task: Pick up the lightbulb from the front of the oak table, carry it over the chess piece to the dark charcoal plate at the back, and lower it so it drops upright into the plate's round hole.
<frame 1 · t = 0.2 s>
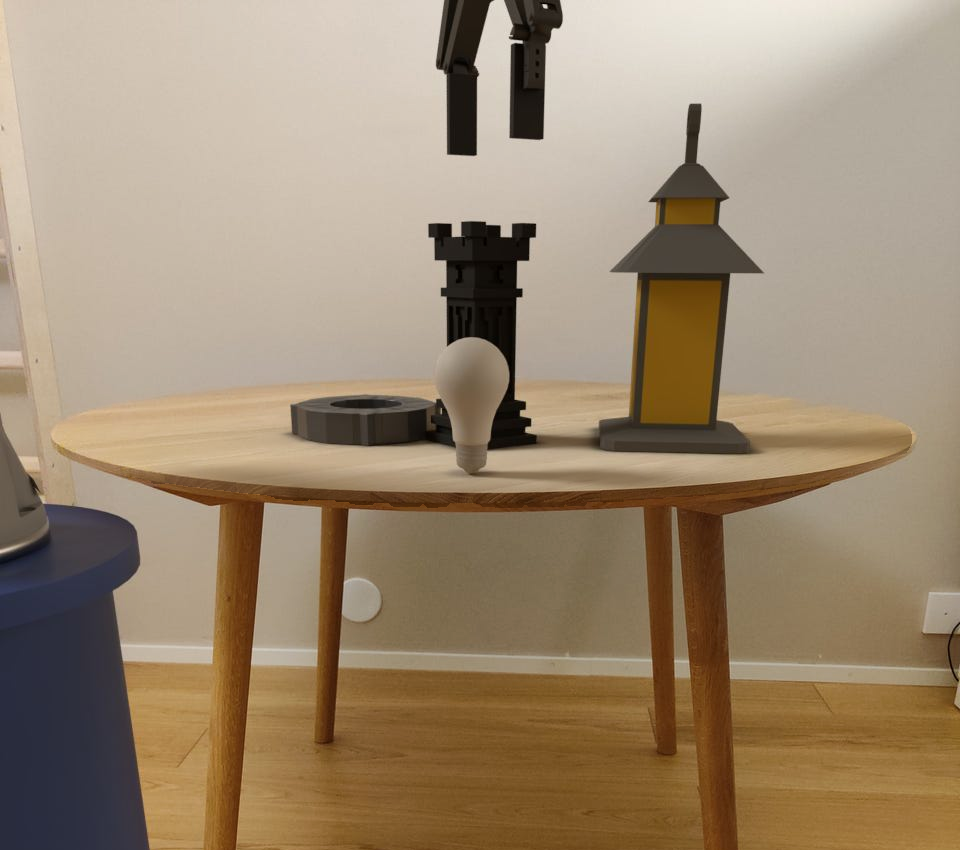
hand: (491, 148, 83), 26 cm above the table, tool pointing down, fingers open, 13 cm apart
chess piece: (480, 443, 95), on the table
hole plate: (367, 432, 100), on the table
lightbulb: (471, 475, 81), on the table
lantern: (668, 441, 97), on the table
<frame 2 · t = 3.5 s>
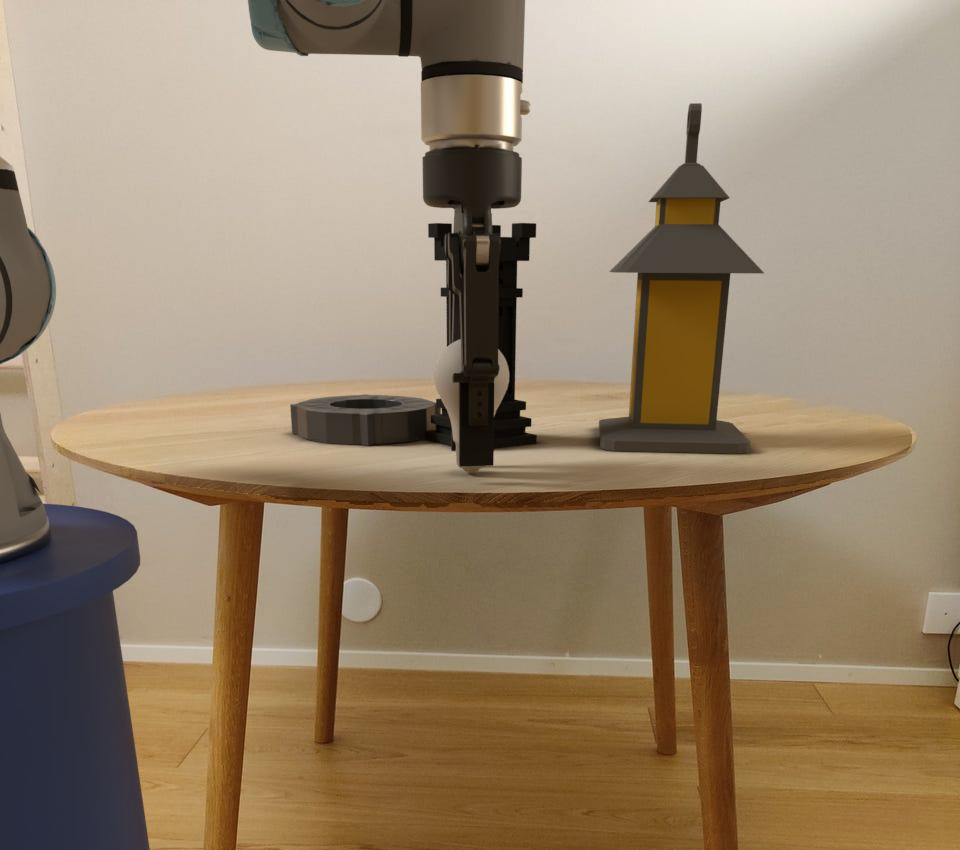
hand: (471, 456, 80), 1 cm above the table, tool pointing down, fingers closed on lightbulb, 6 cm apart
lightbulb: (471, 475, 81), on the table, touching gripper
everything else where it was.
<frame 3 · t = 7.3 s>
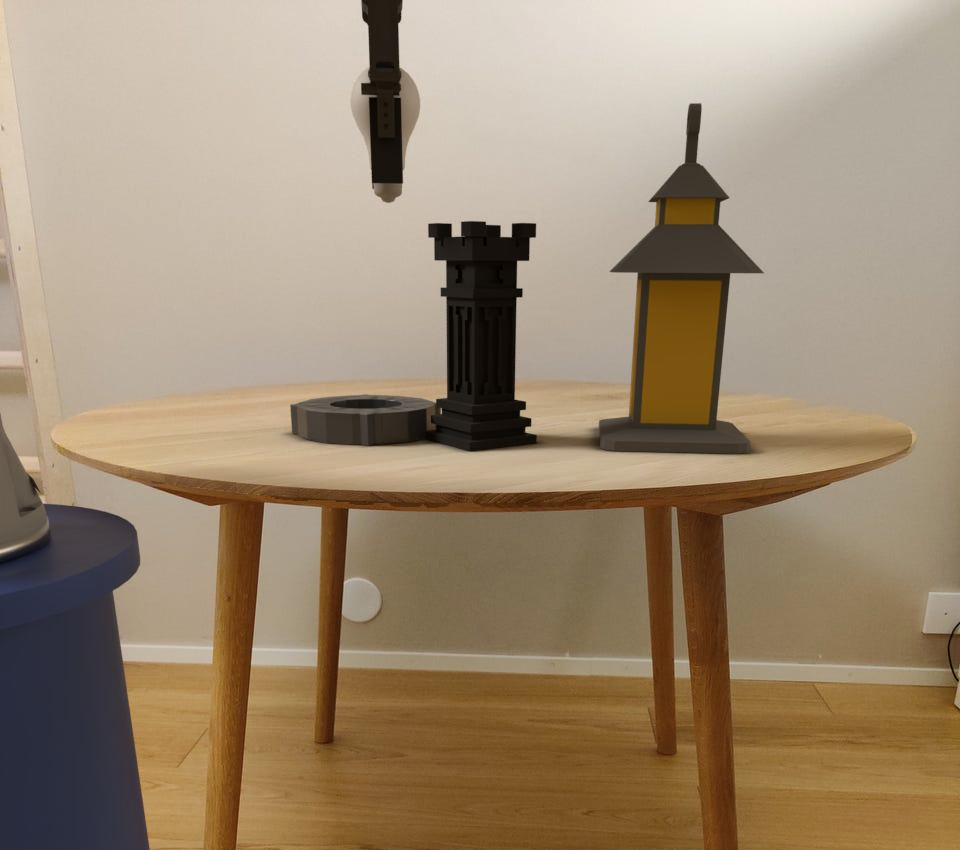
hand: (387, 185, 86), 23 cm above the table, tool pointing down, fingers closed on lightbulb, 6 cm apart
lightbulb: (388, 205, 87), point 21 cm above the table, touching gripper
everything else where it was.
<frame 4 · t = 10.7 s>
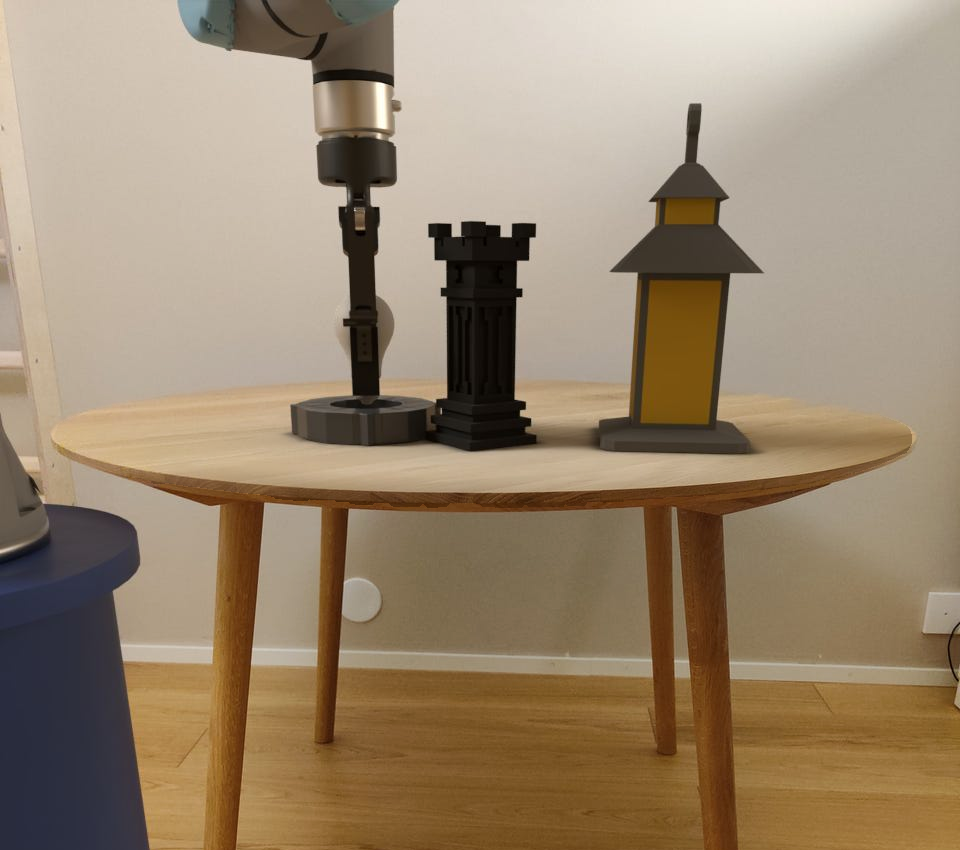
hand: (365, 390, 98), 4 cm above the table, tool pointing down, fingers closed on lightbulb, 6 cm apart
lightbulb: (367, 406, 99), point 3 cm above the table, touching gripper
everything else where it was.
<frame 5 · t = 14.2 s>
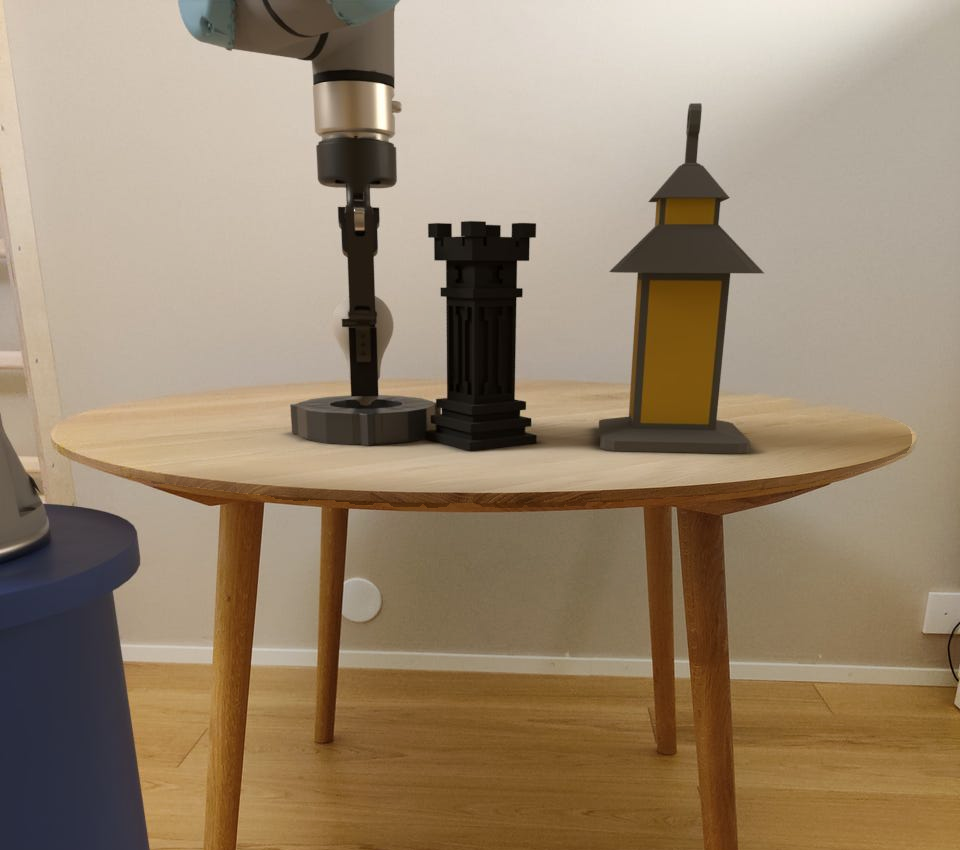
hand: (364, 391, 98), 4 cm above the table, tool pointing down, fingers closed on lightbulb, 6 cm apart
lightbulb: (365, 407, 99), point 3 cm above the table, touching gripper
everything else where it was.
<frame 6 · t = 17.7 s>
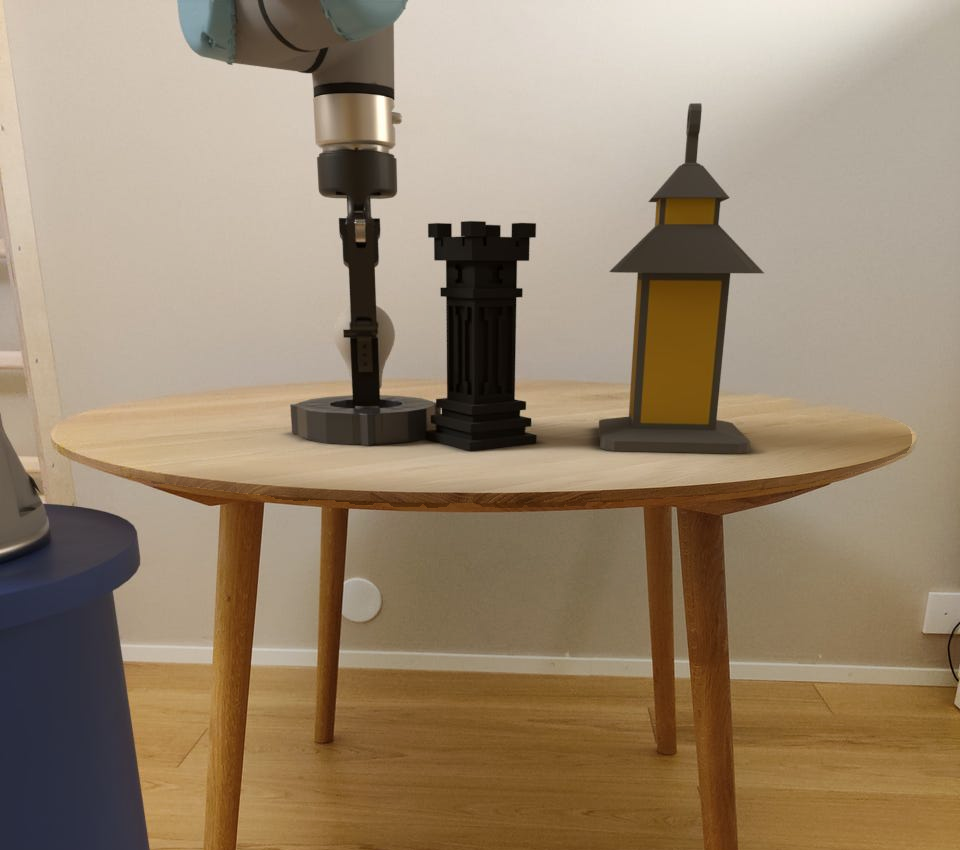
hand: (366, 400, 99), 3 cm above the table, tool pointing down, fingers closed on lightbulb, 6 cm apart
lightbulb: (367, 416, 99), point 2 cm above the table, touching gripper
everything else where it was.
when the fingers open (4 cm above the table, at t = 18.2 s): lightbulb drops 3 cm, resting in hole plate.
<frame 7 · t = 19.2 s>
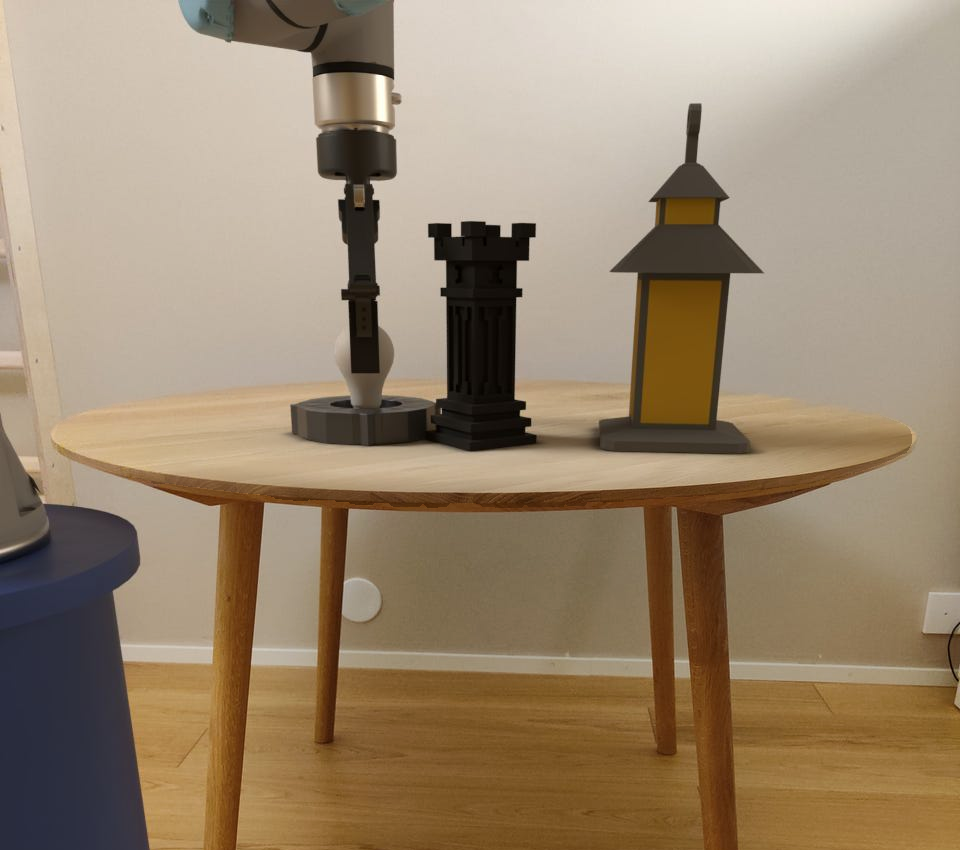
hand: (364, 366, 97), 7 cm above the table, tool pointing down, fingers open, 13 cm apart
lightbulb: (367, 433, 100), resting in hole plate
everything else where it was.
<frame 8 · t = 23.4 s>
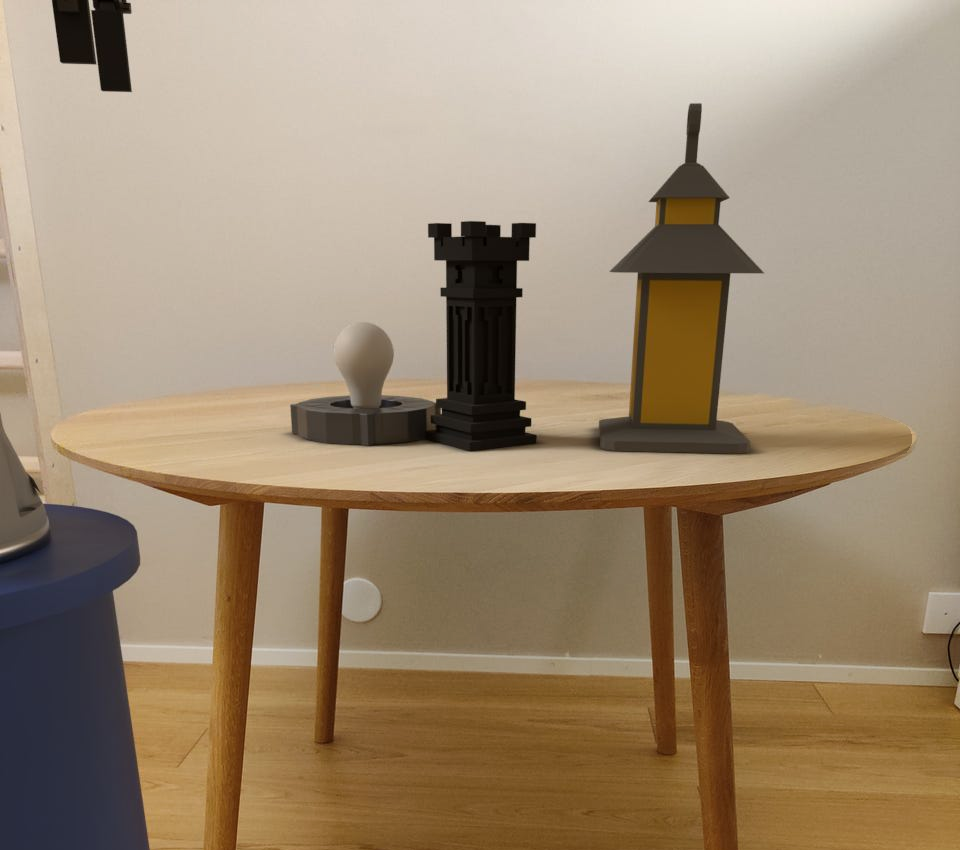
hand: (98, 78, 85), 32 cm above the table, tool pointing down, fingers open, 13 cm apart
nothing on the table moved.
at the end: lightbulb 0.7 cm off-centre in the hole plate, point 0.0 cm above the hole plate's base; lightbulb tilted 0°; the gripper is holding nothing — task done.
